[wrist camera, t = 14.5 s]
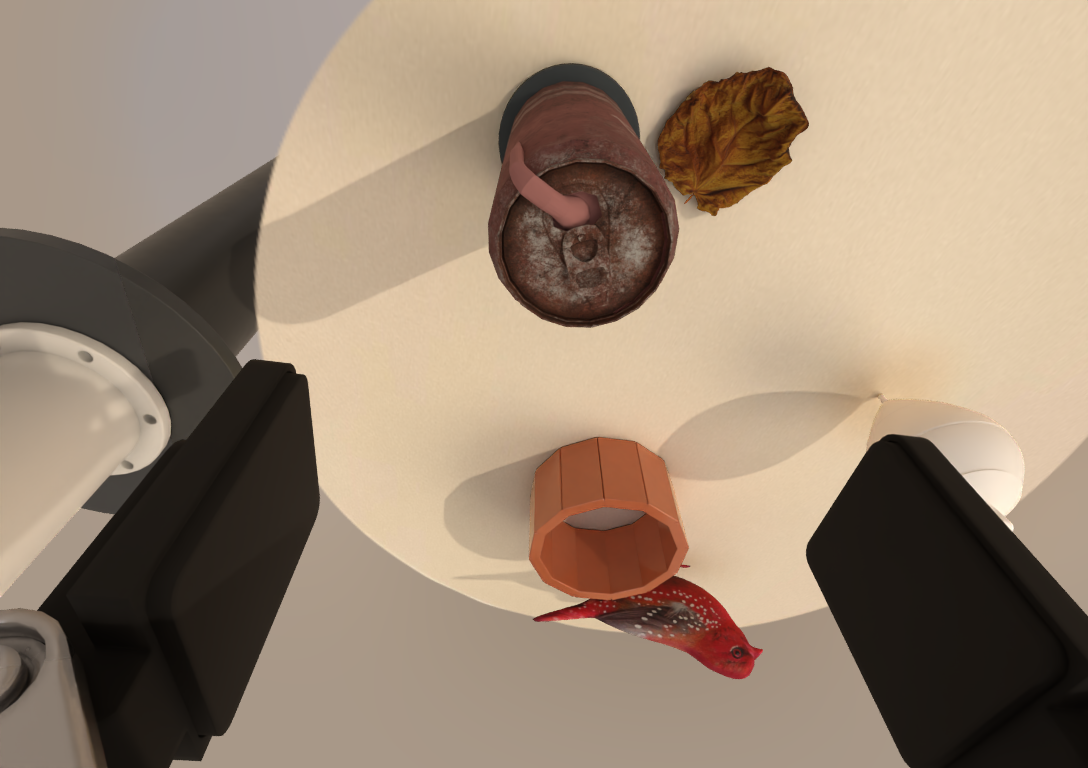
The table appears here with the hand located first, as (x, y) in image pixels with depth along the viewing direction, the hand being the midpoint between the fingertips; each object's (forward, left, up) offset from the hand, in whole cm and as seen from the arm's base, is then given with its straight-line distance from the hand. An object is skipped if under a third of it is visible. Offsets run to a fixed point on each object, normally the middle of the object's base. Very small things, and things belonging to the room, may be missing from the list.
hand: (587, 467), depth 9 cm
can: (0, 0, -24) cm, 24 cm away
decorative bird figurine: (+12, -33, -24) cm, 42 cm away
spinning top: (+25, -13, -24) cm, 37 cm away
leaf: (+9, +1, -24) cm, 26 cm away
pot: (+8, -25, -24) cm, 35 cm away
